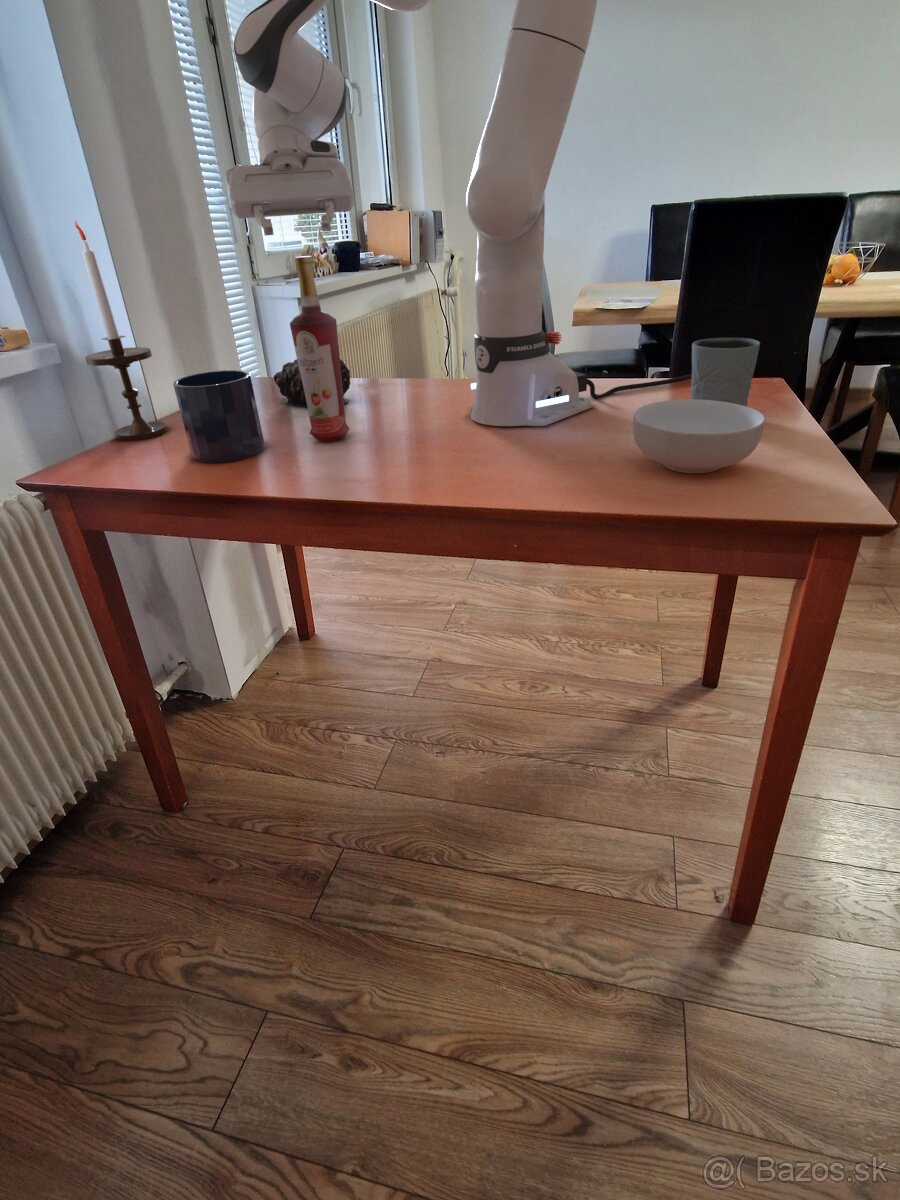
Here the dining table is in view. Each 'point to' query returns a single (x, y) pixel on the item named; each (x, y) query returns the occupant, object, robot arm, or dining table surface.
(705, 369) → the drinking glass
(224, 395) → the dark blue plant pot
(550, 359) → the robot arm
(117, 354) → the candlestick
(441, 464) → the dining table surface
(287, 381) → the pine cone
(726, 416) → the cereal bowl
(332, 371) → the liquor
